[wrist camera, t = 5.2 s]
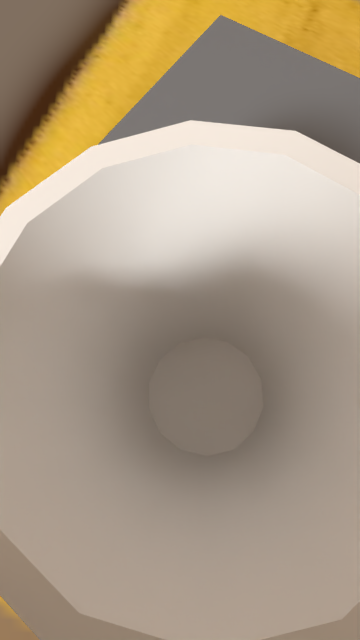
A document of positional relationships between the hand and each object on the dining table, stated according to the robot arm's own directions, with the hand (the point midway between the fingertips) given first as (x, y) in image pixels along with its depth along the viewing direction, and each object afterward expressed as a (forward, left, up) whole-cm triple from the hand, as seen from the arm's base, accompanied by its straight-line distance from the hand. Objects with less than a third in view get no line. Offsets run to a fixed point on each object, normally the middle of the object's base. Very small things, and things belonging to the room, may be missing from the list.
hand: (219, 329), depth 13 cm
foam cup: (-1, +2, -6) cm, 6 cm away
